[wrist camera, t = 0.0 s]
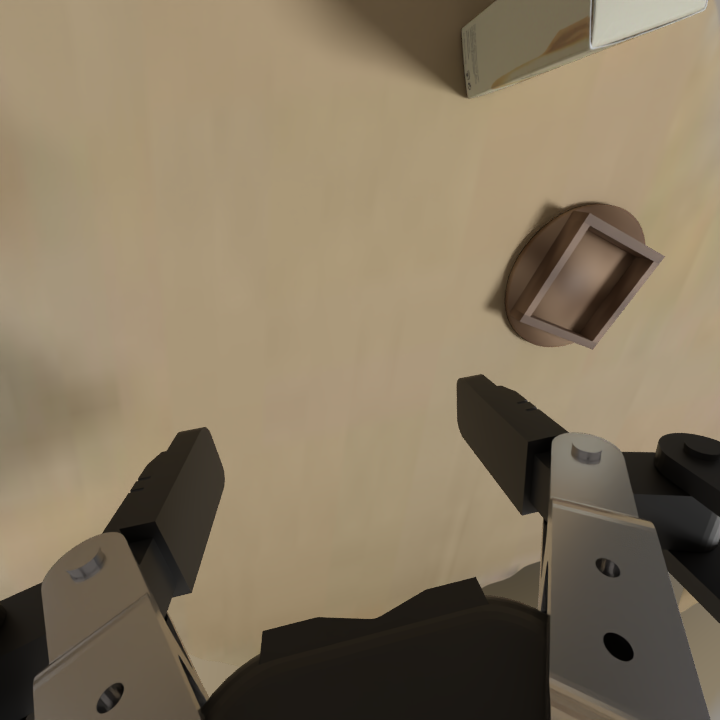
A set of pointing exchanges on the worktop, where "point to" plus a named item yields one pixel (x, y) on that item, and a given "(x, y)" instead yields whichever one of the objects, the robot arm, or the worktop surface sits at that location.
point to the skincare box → (555, 35)
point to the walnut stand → (578, 276)
